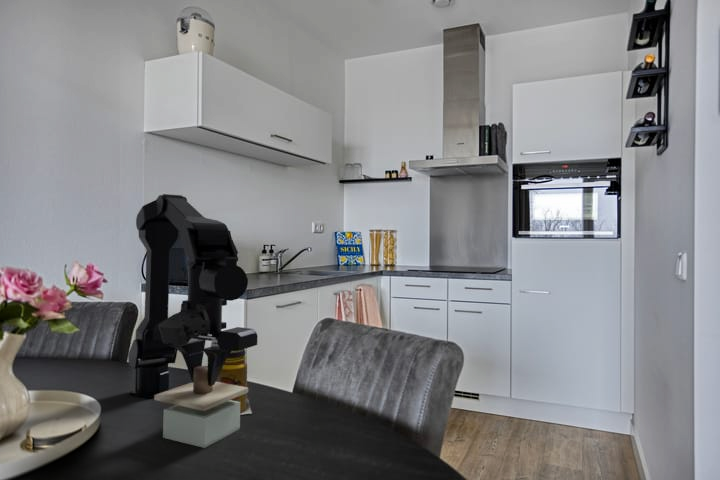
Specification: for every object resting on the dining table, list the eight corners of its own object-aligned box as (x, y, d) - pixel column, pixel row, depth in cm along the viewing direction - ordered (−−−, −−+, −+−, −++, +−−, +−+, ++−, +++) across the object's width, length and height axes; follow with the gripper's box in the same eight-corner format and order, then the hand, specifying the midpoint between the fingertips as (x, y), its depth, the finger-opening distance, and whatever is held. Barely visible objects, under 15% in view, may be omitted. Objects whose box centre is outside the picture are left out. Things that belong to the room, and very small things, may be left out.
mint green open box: (163, 438, 83) (163, 409, 83) (200, 421, 91) (201, 394, 91) (204, 449, 79) (205, 418, 79) (239, 430, 87) (240, 401, 87)
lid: (154, 399, 83) (154, 371, 83) (201, 383, 93) (202, 357, 92) (204, 411, 78) (204, 380, 78) (248, 392, 88) (248, 365, 88)
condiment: (212, 418, 92) (213, 354, 92) (212, 403, 101) (213, 345, 101) (251, 414, 95) (253, 352, 95) (248, 400, 103) (249, 343, 103)
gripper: (127, 295, 82) (125, 388, 82) (216, 303, 74) (214, 406, 74) (177, 289, 92) (175, 372, 92) (260, 296, 84) (258, 387, 84)
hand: (203, 384), depth 85 cm, fingers closed on lid, 3 cm apart
